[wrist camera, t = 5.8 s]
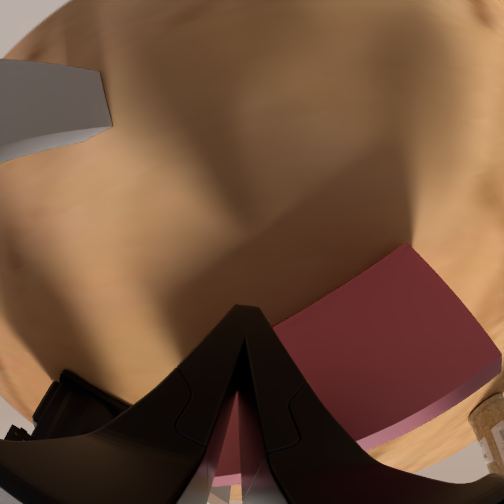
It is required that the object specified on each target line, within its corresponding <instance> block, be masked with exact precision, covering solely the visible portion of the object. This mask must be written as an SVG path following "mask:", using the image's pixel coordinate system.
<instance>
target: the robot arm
mask: <svg viewBox="0 0 504 504" xmlns="http://www.w3.org/2000/svg"><path fill="white" fill-rule="evenodd" d="M236 393H237V395H238V422H239V445H240V467H241V486H242V501H243V504H504V475H503V474H498V473H495V472H492V473H490V474H488V475H486V476H484V477H483V478H481V479H479V480H477V481H474V482H472V483H465V484H455V483H448V482H443V481H439V480H435V479H430V478H426V477H423V476H419V475H415V474H412V473H408V472H405V471H402V470H398V469H395V468H392V467H389V466H386V465H384V464H382V463H380V462H378V461H377V460H375V459H374V458H372V457H371V456H370V455H369V454H367V453H366V452H365V451H364V450H363V449H362V448H361V446H360V445H359V444H358V443H357V442H356V441H355V440H354V439H353V438H352V437H351V436H350V435H349V434H348V432H347V431H346V430H345V429H344V428H343V427H342V426H341V425H340V424H339V423H338V421H337V420H336V419H335V418H334V417H333V416H332V414H331V413H330V412H329V411H328V410H327V408H326V407H325V406H324V405H323V403H322V402H321V401H320V399H319V398H318V397H317V395H316V394H315V392H314V391H313V389H312V388H311V386H310V385H309V383H308V382H306V379H305V377H304V376H303V374H302V373H301V371H300V370H299V368H298V367H297V365H296V364H295V362H294V361H293V359H292V358H291V356H290V355H289V353H288V352H287V350H286V348H285V347H284V345H283V344H282V342H281V341H280V339H279V338H278V336H277V335H276V333H275V331H274V330H273V328H272V327H271V325H270V324H269V322H268V321H267V319H266V317H265V316H264V314H263V313H262V311H261V310H260V308H259V307H255V306H246V305H239V304H236V305H234V306H233V308H232V309H231V310H230V311H229V312H228V313H227V314H226V315H225V316H224V317H223V318H222V319H221V320H220V321H219V323H218V324H217V325H216V326H215V327H214V328H213V329H212V330H211V331H210V332H209V333H208V334H207V335H206V336H205V337H204V338H203V340H202V341H201V342H200V343H199V344H198V345H197V346H196V347H195V348H194V349H193V350H192V351H191V352H190V353H189V354H188V355H187V356H186V357H185V358H184V359H183V361H182V362H181V363H180V364H179V365H178V366H177V368H175V369H174V370H173V371H172V372H171V373H170V374H169V375H168V376H167V377H166V378H165V379H164V380H163V381H162V382H161V383H160V384H158V385H157V386H156V387H155V388H154V389H153V390H152V391H150V392H149V393H148V394H147V395H145V396H144V397H143V398H142V399H140V400H139V401H138V402H136V403H135V404H134V405H132V406H131V407H130V408H128V407H126V406H124V405H122V404H121V403H119V402H117V401H115V400H113V399H112V398H110V397H108V396H106V395H105V394H103V393H101V392H100V391H98V390H96V389H95V388H93V387H91V386H90V385H88V384H87V383H85V382H84V381H82V380H81V379H79V378H78V377H76V376H75V375H73V374H72V373H70V372H69V371H67V370H63V371H62V373H61V374H60V382H57V381H53V383H52V384H51V386H50V387H49V389H48V391H47V392H46V394H45V396H44V397H43V399H42V401H41V402H40V404H39V406H38V407H37V409H36V411H35V413H34V414H33V416H32V418H33V423H34V427H35V429H34V431H33V433H32V435H31V436H30V435H29V434H28V433H27V431H26V430H24V429H23V428H20V429H19V428H17V427H16V426H14V425H12V426H11V428H10V429H9V431H8V433H7V435H6V437H5V438H4V440H2V439H0V504H207V501H208V497H209V494H210V490H211V487H212V483H213V480H214V476H215V472H216V469H217V465H218V462H219V458H220V454H221V450H222V447H223V443H224V439H225V436H226V432H227V428H228V424H229V420H230V417H231V413H232V409H233V405H234V401H235V397H236Z"/></svg>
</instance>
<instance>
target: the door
mask: <svg viewBox="0 0 504 504" xmlns="http://www.w3.org/2000/svg"><path fill="white" fill-rule="evenodd" d="M273 330H274V331H275V333H276V335H277V336H278V338H279V339H280V341H281V342H282V344H283V345H284V347H285V348H286V350H287V352H288V353H289V355H290V356H291V358H292V359H293V361H294V362H295V364H296V365H297V367H298V368H299V370H300V371H301V373H302V374H303V376H304V377H305V379H306V382H308V383H309V385H310V386H311V388H312V389H313V391H314V392H315V394H316V395H317V397H318V398H319V399H320V401H321V402H322V403H323V405H324V406H325V407H326V408H327V410H328V411H329V412H330V413H331V414H332V416H333V417H334V418H335V419H336V420H337V421H338V423H339V424H340V425H341V426H342V427H343V428H344V429H345V430H346V431H347V432H348V434H349V435H350V436H351V437H352V438H353V439H354V440H355V441H356V442H357V443H358V444H359V445H360V446H361V448H362V449H363V450H364V451H368V450H370V449H372V448H375V447H377V446H380V445H382V444H384V443H386V442H389V441H391V440H393V439H395V438H397V437H399V436H402V435H404V434H406V433H408V432H410V431H412V430H414V429H415V428H417V427H419V426H421V425H423V424H425V423H427V422H428V421H430V420H432V419H434V418H435V417H437V416H439V415H441V414H442V413H444V412H445V411H447V410H449V409H450V408H452V407H453V406H455V405H457V404H458V403H460V402H461V401H463V400H464V399H466V398H467V397H469V396H470V395H471V394H473V393H474V392H476V391H477V390H478V389H480V388H481V387H482V386H484V385H485V384H486V383H488V382H489V381H490V380H492V379H493V378H494V377H495V376H497V375H498V374H499V373H500V372H501V364H502V354H501V352H500V351H499V349H498V348H497V347H496V345H495V344H494V342H493V341H492V340H491V338H490V337H489V336H488V334H487V333H486V332H485V330H484V329H483V328H482V326H481V325H480V324H479V322H478V321H477V320H476V319H475V317H474V316H473V315H472V314H471V312H470V311H469V310H468V309H467V307H466V306H465V305H464V304H463V303H462V301H461V300H460V299H459V298H458V297H457V296H456V294H455V293H454V292H453V291H452V290H451V289H450V287H449V286H448V285H447V284H446V283H445V282H444V281H443V280H442V278H441V277H440V276H439V275H438V274H437V273H436V272H435V271H434V270H433V269H432V268H431V267H430V266H429V264H428V263H427V262H426V261H425V260H424V259H423V258H422V257H421V256H420V255H419V254H418V253H417V252H416V251H415V250H414V249H413V248H412V247H411V246H410V245H409V244H408V243H407V242H405V243H404V244H403V245H401V246H400V247H398V248H397V249H396V250H394V251H393V252H391V253H390V254H389V255H387V256H386V257H384V258H383V259H381V260H380V261H378V262H377V263H376V264H374V265H373V266H371V267H370V268H368V269H367V270H365V271H364V272H362V273H361V274H359V275H358V276H356V277H355V278H353V279H352V280H350V281H348V282H347V283H345V284H344V285H342V286H341V287H339V288H338V289H336V290H334V291H333V292H331V293H330V294H328V295H326V296H325V297H323V298H322V299H320V300H318V301H317V302H315V303H313V304H312V305H310V306H309V307H307V308H305V309H304V310H302V311H300V312H298V313H297V314H295V315H293V316H292V317H290V318H288V319H287V320H285V321H283V322H281V323H280V324H278V325H276V326H274V327H273ZM236 484H241V467H240V445H239V422H238V395H237V393H236V397H235V401H234V405H233V409H232V413H231V417H230V420H229V424H228V428H227V432H226V436H225V439H224V443H223V447H222V450H221V454H220V458H219V462H218V465H217V469H216V472H215V476H214V480H213V483H212V487H217V486H227V485H236Z"/></svg>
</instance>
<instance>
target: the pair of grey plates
mask: <svg viewBox="0 0 504 504" xmlns="http://www.w3.org/2000/svg"><path fill="white" fill-rule="evenodd" d="M112 126H113V125H112V122H111V118H110V114H109V110H108V106H107V103H106V98H105V94H104V90H103V86H102V82H101V77H100V72H98V71H93V70H88V69H83V68H78V67H72V66H66V65H59V64H52V63H44V62H36V61H25V60H11V59H0V163H2V162H6V161H9V160H12V159H15V158H19V157H22V156H25V155H29V154H33V153H36V152H40V151H44V150H48V149H52V148H57V147H61V146H66V145H70V144H75V143H80V142H84V141H85V140H87V139H89V138H91V137H93V136H95V135H96V134H98V133H100V132H102V131H104V130H106V129H108V128H110V127H112ZM230 489H231V485H227V486H217V487H211V490H210V494H209V497H208V501H207V504H229V499H230Z"/></svg>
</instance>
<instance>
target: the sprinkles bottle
mask: <svg viewBox="0 0 504 504" xmlns="http://www.w3.org/2000/svg"><path fill="white" fill-rule="evenodd" d="M468 421H469V424H470V425H471V426H472V428H473V430H474V433H475V435H476V437H477V440H478V442H479V446H480V449H481V451H482V454H483V456H484V459H485V461H486V465H487V467H488V470H489V473H492V472H495V473H498V474H503V475H504V396H503V395H502V394H500V393H499V394H496V395H493V396H492V397H490V398H488V399H487V400H485V401H484V402H483V403H481V404H480V405H479V406H478V407H477V408H476V409H475V410H474V411H473V412H472V414H471V415H470V417H469V419H468Z"/></svg>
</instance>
